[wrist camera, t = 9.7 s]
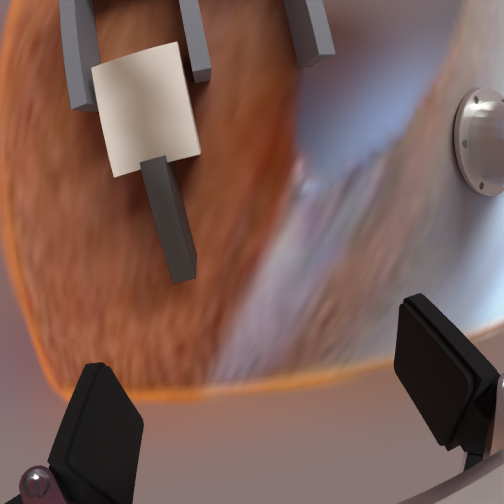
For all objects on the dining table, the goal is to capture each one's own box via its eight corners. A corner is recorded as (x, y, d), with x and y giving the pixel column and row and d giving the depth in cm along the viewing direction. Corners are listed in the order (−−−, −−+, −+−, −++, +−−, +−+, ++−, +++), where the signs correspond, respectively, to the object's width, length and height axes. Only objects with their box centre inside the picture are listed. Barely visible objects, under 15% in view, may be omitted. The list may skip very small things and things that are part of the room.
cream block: (182, 56, 21) (175, 37, 16) (222, 244, 27) (226, 271, 22) (109, 77, 20) (86, 65, 15) (155, 259, 26) (144, 289, 21)
